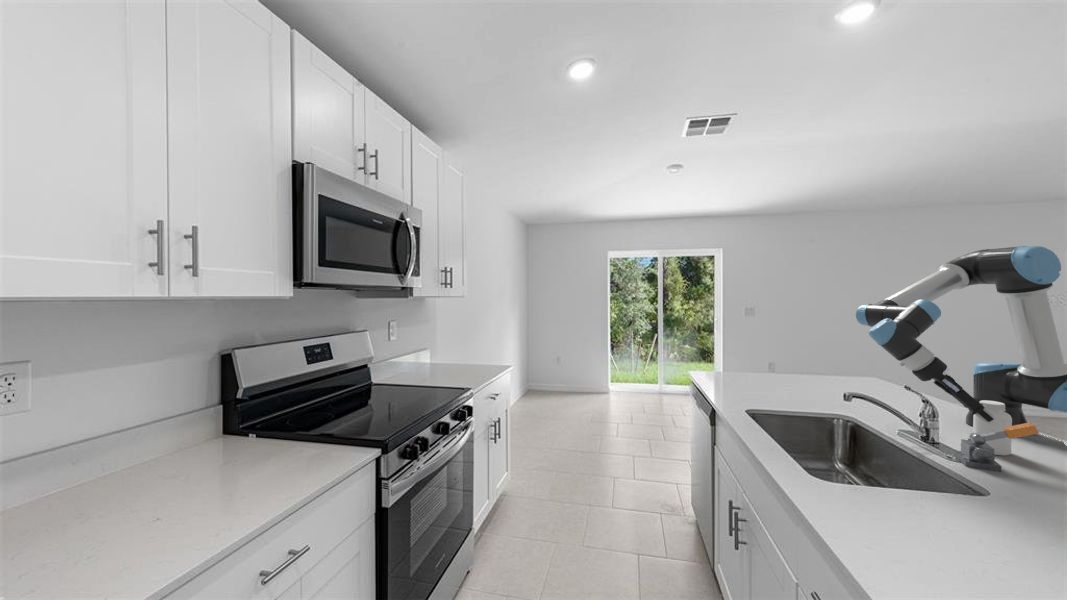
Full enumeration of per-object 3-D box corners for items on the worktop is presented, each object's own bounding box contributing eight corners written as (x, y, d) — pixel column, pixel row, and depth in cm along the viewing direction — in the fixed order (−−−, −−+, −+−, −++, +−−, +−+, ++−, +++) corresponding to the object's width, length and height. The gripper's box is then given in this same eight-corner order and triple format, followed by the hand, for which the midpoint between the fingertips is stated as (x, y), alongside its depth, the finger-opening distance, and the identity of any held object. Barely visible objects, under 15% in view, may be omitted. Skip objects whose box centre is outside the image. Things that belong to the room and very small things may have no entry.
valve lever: (972, 437, 119) (1034, 425, 113) (967, 434, 121) (1028, 421, 115) (976, 445, 118) (1039, 433, 112) (972, 442, 121) (1033, 430, 115)
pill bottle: (966, 447, 131) (967, 400, 130) (982, 444, 133) (983, 398, 133) (1000, 457, 123) (1002, 407, 123) (1017, 454, 126) (1019, 404, 125)
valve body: (965, 466, 118) (966, 446, 117) (954, 455, 125) (954, 436, 125) (1001, 471, 114) (1001, 450, 114) (987, 460, 122) (987, 440, 121)
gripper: (904, 368, 132) (977, 430, 124) (917, 375, 120) (997, 444, 113) (928, 352, 129) (1003, 414, 121) (942, 358, 118) (1026, 427, 110)
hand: (1000, 428), depth 117 cm, fingers closed
